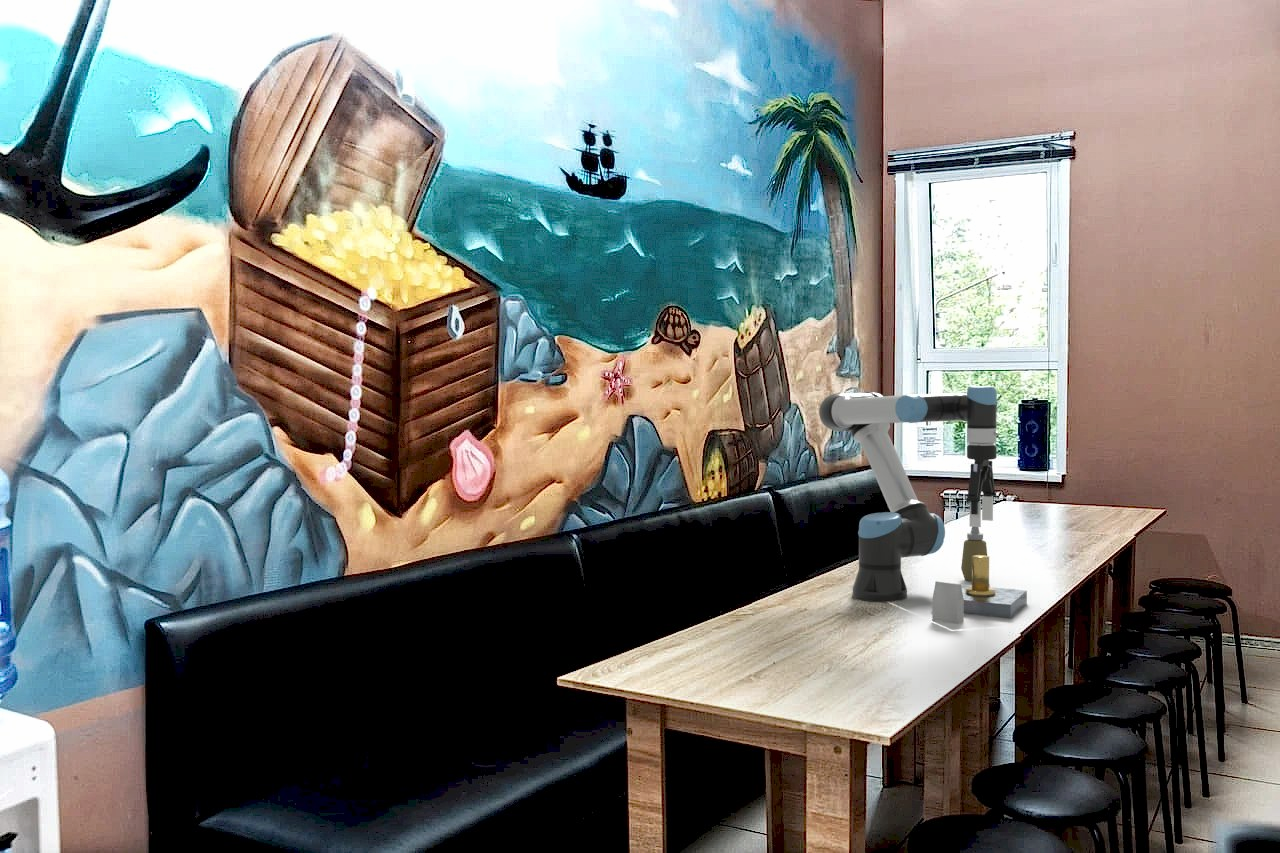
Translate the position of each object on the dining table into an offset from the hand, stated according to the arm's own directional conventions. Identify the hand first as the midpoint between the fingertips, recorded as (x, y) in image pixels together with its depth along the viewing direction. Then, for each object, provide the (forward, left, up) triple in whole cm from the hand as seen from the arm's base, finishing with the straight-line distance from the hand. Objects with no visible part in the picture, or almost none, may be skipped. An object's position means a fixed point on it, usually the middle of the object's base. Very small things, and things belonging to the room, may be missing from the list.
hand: (981, 523), depth 291 cm
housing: (0, 0, -23) cm, 23 cm away
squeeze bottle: (+19, +34, -23) cm, 45 cm away
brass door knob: (0, 0, -23) cm, 23 cm away
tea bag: (-16, -11, -23) cm, 30 cm away
